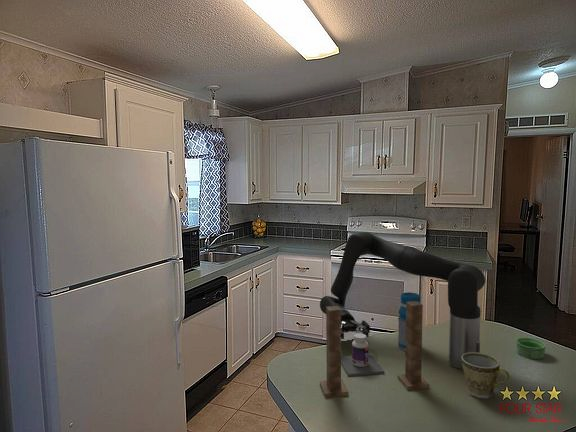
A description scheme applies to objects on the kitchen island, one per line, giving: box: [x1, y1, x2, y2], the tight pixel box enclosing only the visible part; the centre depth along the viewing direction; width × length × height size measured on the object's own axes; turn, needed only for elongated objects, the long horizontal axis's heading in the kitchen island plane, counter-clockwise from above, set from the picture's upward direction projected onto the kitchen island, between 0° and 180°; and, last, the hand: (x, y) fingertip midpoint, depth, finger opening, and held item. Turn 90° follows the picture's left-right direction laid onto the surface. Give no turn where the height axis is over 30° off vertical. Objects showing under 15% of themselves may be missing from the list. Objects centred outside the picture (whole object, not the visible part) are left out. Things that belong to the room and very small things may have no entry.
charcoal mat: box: [341, 354, 385, 377], centre depth 130 cm, size 12×12×1 cm
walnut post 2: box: [397, 301, 430, 391], centre depth 118 cm, size 7×7×25 cm
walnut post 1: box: [319, 306, 350, 399], centre depth 115 cm, size 7×7×25 cm
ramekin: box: [515, 337, 547, 360], centre depth 137 cm, size 9×9×4 cm
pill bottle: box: [351, 333, 369, 367], centre depth 130 cm, size 5×5×10 cm
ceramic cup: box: [462, 352, 510, 399], centre depth 112 cm, size 13×10×10 cm
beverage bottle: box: [397, 292, 421, 352], centre depth 143 cm, size 8×8×20 cm
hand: (355, 335), depth 136 cm, fingers open, 8 cm apart
